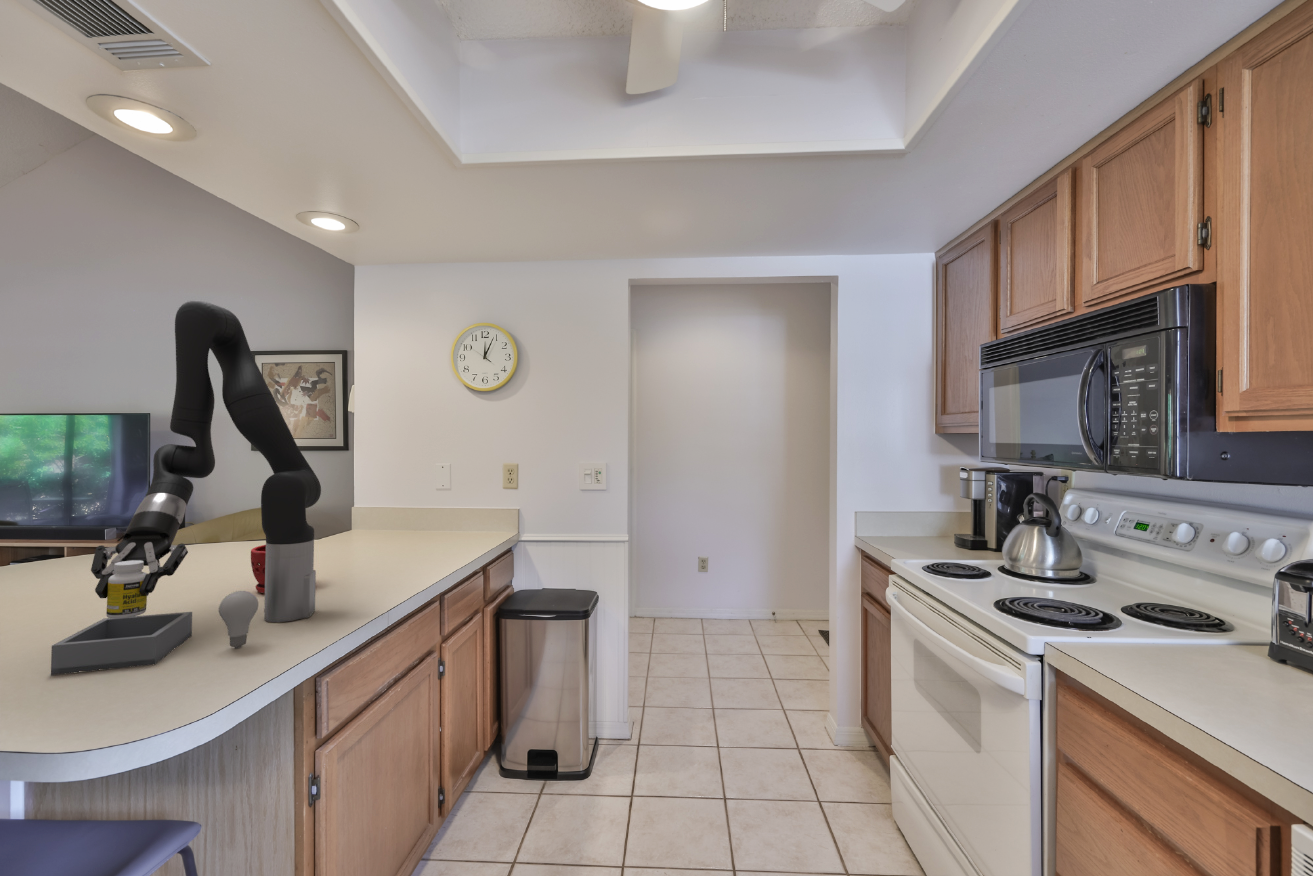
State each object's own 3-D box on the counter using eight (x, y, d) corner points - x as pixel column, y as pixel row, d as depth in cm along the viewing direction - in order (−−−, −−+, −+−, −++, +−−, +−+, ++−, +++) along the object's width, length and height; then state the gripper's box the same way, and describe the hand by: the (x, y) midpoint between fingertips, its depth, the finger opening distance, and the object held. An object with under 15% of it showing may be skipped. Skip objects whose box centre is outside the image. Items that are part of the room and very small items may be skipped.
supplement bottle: (121, 620, 99) (123, 566, 99) (98, 617, 100) (100, 564, 100) (154, 611, 104) (156, 560, 104) (131, 609, 106) (133, 558, 106)
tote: (191, 636, 112) (192, 611, 112) (154, 664, 98) (155, 636, 98) (103, 644, 107) (103, 618, 107) (50, 675, 93) (51, 645, 93)
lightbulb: (214, 656, 102) (215, 597, 102) (222, 645, 107) (223, 589, 107) (254, 651, 105) (255, 593, 105) (260, 640, 110) (261, 585, 110)
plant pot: (268, 584, 152) (269, 541, 152) (318, 583, 154) (319, 540, 154) (238, 597, 139) (239, 550, 139) (293, 596, 141) (294, 549, 141)
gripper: (104, 509, 107) (62, 587, 96) (195, 508, 112) (165, 582, 101) (118, 532, 112) (79, 608, 101) (205, 530, 117) (177, 602, 106)
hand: (122, 594), depth 101 cm, fingers closed on supplement bottle, 5 cm apart
